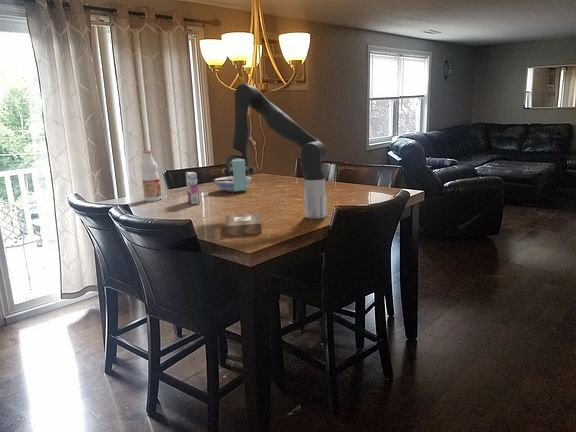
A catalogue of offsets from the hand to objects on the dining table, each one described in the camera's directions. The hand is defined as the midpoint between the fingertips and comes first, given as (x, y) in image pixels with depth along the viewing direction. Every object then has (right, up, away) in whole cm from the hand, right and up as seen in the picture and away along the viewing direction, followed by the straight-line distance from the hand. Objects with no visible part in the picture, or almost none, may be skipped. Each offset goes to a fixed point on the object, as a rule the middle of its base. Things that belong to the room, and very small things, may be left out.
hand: (239, 173), depth 178 cm
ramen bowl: (-14, -2, +94) cm, 95 cm away
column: (0, -6, +4) cm, 7 cm away
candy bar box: (-32, -10, +65) cm, 73 cm away
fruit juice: (-58, -8, +77) cm, 97 cm away
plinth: (+1, -22, +8) cm, 24 cm away
